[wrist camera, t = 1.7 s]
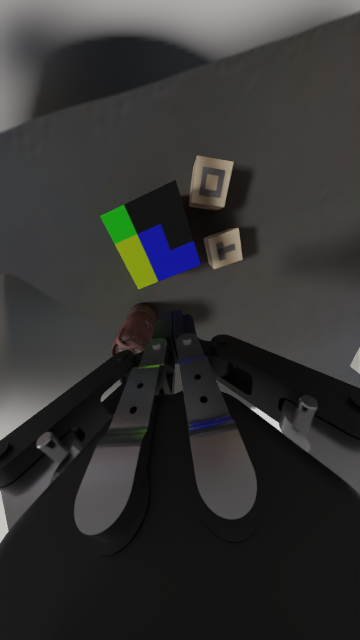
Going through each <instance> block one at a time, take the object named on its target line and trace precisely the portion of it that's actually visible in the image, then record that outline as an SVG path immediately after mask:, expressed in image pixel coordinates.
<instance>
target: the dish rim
mask: <svg viewBox="0 0 360 640" xmlns="http://www.w3.org/2000/svg"><path fill="white" fill-rule="evenodd" d="M350 367H352V368H353V369H354V370H356V371H357V372H358V373H360V348H359V350H358V352H357V353H356V355H355V357H354V359H353V361H352V363H351V365H350Z"/></svg>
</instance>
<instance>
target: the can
mask: <svg viewBox="0 0 360 640" xmlns="http://www.w3.org/2000/svg"><path fill="white" fill-rule="evenodd" d="M156 317H157V316H156V312H155V310H154V309H153V308H152V307H151V306H150V305H148V304H143V303H142V304H137V305H135V306H134V307H133V308H132V309H131V311H130V313H129V314H128V316H127V318H126V320H125V322H124V324H123V326H122V327H121V329H120V331H119V333H118V335H117V337H116V338H115V340H114V342H113V344H112V354H113V356H114V355H115V354H117V353H118V352H120V351H123V350H131V351H132V352H133V353H134V354H137V353H139V352H142V351H144V350H145V347H146V345H147V343H148V342H150V341H151V340H152V336H153V331H154V325H155V322H156Z"/></svg>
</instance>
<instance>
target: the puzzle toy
mask: <svg viewBox="0 0 360 640" xmlns="http://www.w3.org/2000/svg"><path fill="white" fill-rule="evenodd" d="M100 217H101V219H102V221H103V223H104V225H105V226H106V228H107V230H108V232H109V234H110V236H111V238H112V240H113V242H114V244H115V246H116V247H117V249H118V251H119V253H120V255H121V257H122V259H123V261H124V263H125V265H126V266H127V268H128V270H129V272H130V274H131V276H132V278H133V280H134V282H135V284H136V285H137V287H138V289H140V288H143V287H145V286H148V285H151V284H153V283H156V282H158V281H161V280H163V279H166V278H169V277H171V276H174V275H176V274H179V273H181V272H184V271H187V270H189V269H192V268H194V267H197V266H199V265H201V264H200V261H199V257H198V254H197V251H196V247H195V244H194V240H193V237H192V234H191V230H190V227H189V224H188V220H187V217H186V214H185V210H184V207H183V203H182V200H181V197H180V193H179V190H178V187H177V183H176V180H174V181H172V182H170V183H168V184H166V185H164V186H162V187H160V188H158V189H156V190H154V191H152V192H149V193H147V194H145V195H143V196H141V197H139V198H137V199H135V200H133V201H131V202H129V203H127V204H125V205H122V206H120V207H118V208H116V209H114V210H112V211H110V212H108V213H106V214H104V215H102V216H100Z"/></svg>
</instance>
